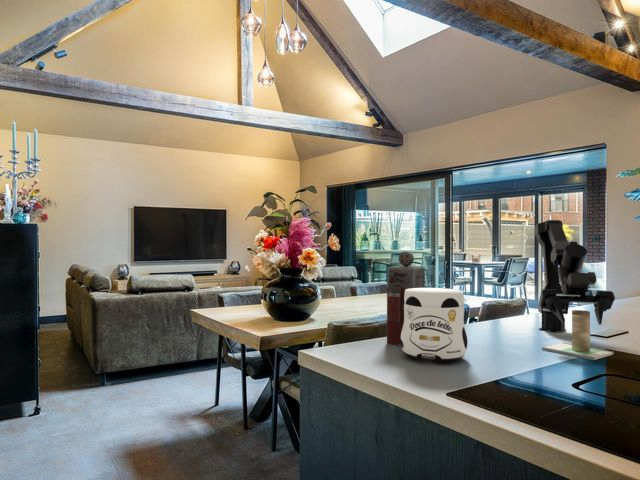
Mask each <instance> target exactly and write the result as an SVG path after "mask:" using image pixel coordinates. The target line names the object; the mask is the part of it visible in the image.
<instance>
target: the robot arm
mask: <svg viewBox="0 0 640 480" xmlns="http://www.w3.org/2000/svg"><path fill="white" fill-rule="evenodd" d="M563 225H564V224H563V222H562V220H560V219H547V220H545V221H543V222H539V223H537V224H536V225H535V226H534V235H535V236H536V239H537V240H536V241H537V243H538V244H539V245H540V246H541V247H542V257H543V259H542V260H543V269H544V282H545V286H544V288H543V289H542V290H541V292H540V296H539V300H538V304H537V309H538V310H537V312H539V313H540V314H541V327H539V328H538V330H541V331H546V332H550V333H551V332H552V333H561V332H565V331H567V329H566V319H565V315H567V314H569V307H570V303H571V304H572V303H573V304H579V303H580V304H593V306H594V313H595V318H596V321H597V324H598V325H599V326H601V325H602V322H603V317H604V312H607V310H609V311H610V309H612V306H613V304H614V302H615V300H616V296H615V293H614V292H613V291H611V290H596V293H595V295H587V294H586V293H588V292H589V287H588V286H590V285H595V284H596V283H597V275H596V272H595V271H587V272H580V269H582V268H583V265H584V263H585V260H586V257H587V253H588V249H587V248H585V247H584V246H583V245H581V244H578V241H569V240H568V238H567V235H566V233H565V230H564V226H563Z"/></svg>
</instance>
